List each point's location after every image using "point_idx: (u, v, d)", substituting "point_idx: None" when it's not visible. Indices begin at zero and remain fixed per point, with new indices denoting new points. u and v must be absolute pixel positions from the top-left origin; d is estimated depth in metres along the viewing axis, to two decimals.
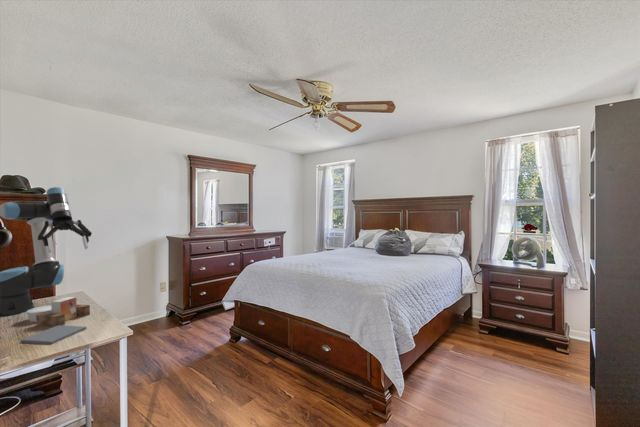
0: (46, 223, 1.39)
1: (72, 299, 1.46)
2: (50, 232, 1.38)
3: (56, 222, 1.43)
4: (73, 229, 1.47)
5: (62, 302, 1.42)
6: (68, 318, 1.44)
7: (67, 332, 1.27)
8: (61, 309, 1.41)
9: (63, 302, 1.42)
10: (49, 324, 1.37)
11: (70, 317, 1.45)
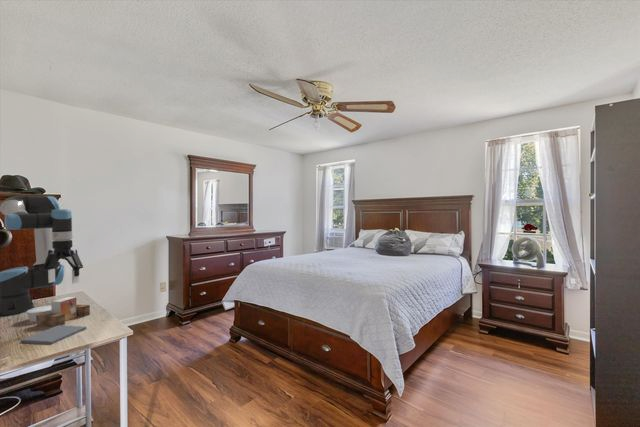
0: (49, 253, 1.44)
1: (72, 299, 1.46)
2: (50, 263, 1.44)
3: (55, 252, 1.44)
4: None
5: (62, 302, 1.42)
6: (68, 318, 1.44)
7: (67, 332, 1.27)
8: (61, 309, 1.41)
9: (63, 302, 1.42)
10: (49, 324, 1.37)
11: (70, 317, 1.45)
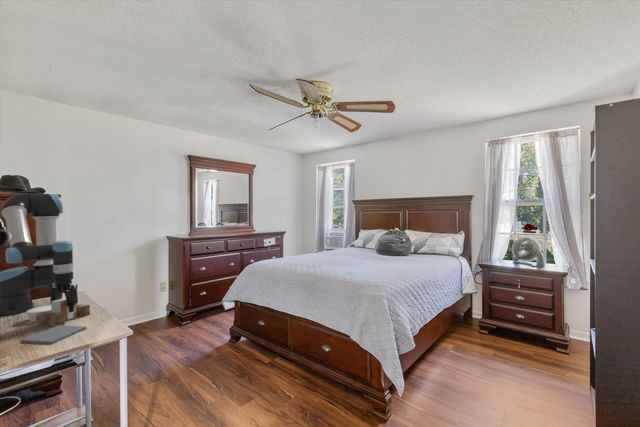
0: (50, 287, 1.44)
1: None
2: (55, 298, 1.44)
3: (56, 284, 1.44)
4: None
5: (62, 302, 1.42)
6: None
7: (67, 332, 1.27)
8: (60, 309, 1.41)
9: (63, 302, 1.42)
10: (49, 324, 1.37)
11: None
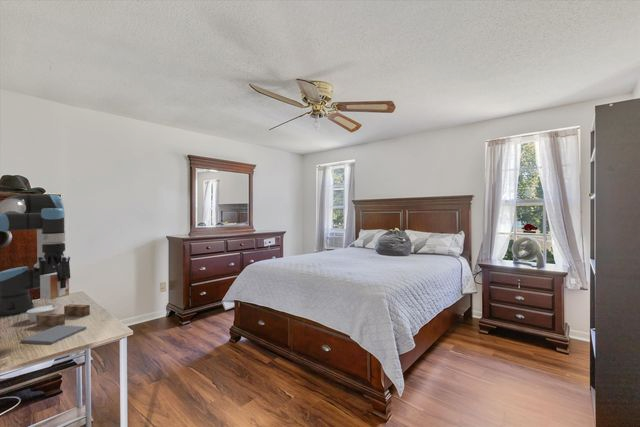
0: (39, 260, 1.27)
1: None
2: (45, 272, 1.27)
3: (46, 256, 1.27)
4: None
5: (52, 276, 1.25)
6: None
7: (67, 332, 1.27)
8: (50, 284, 1.24)
9: (53, 276, 1.25)
10: (49, 324, 1.37)
11: None
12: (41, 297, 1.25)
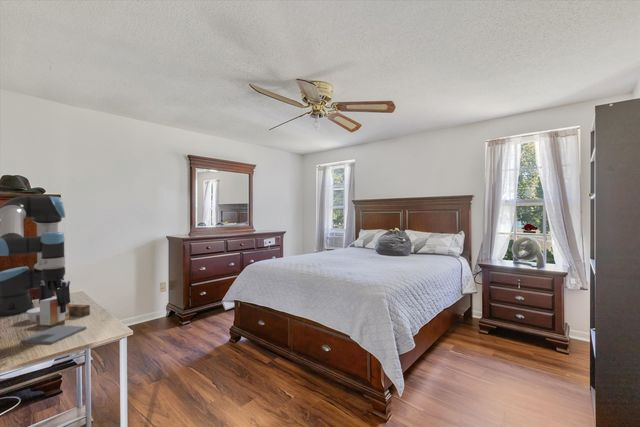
0: (39, 285, 1.27)
1: None
2: (45, 297, 1.26)
3: (45, 280, 1.26)
4: None
5: (52, 301, 1.24)
6: None
7: (67, 332, 1.27)
8: (50, 309, 1.23)
9: (53, 301, 1.24)
10: None
11: None
12: (41, 322, 1.24)
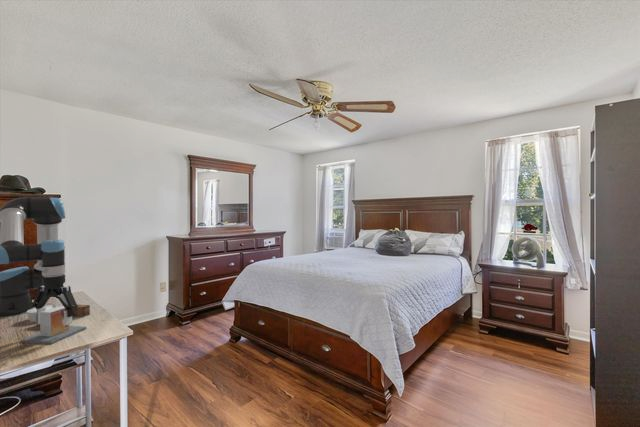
0: (38, 290, 1.27)
1: (64, 309, 1.29)
2: (40, 302, 1.27)
3: (46, 289, 1.26)
4: None
5: (53, 313, 1.24)
6: (60, 331, 1.27)
7: (67, 332, 1.27)
8: (51, 321, 1.23)
9: (54, 313, 1.24)
10: None
11: (62, 329, 1.28)
12: (41, 334, 1.24)
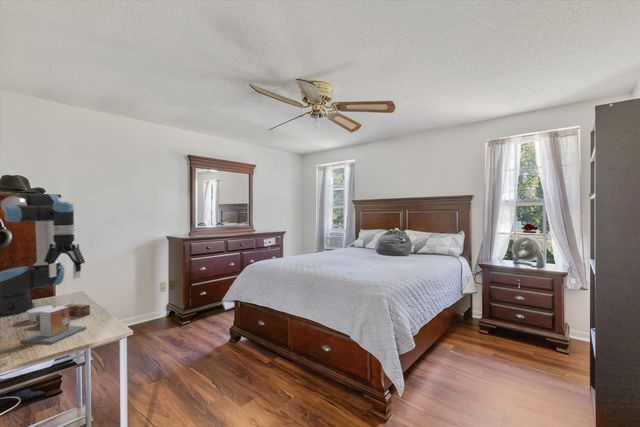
0: (50, 246, 1.40)
1: (64, 309, 1.29)
2: (51, 257, 1.40)
3: (56, 246, 1.39)
4: None
5: (53, 313, 1.24)
6: (60, 331, 1.27)
7: (67, 332, 1.27)
8: (51, 321, 1.23)
9: (54, 313, 1.24)
10: None
11: (62, 329, 1.28)
12: (41, 334, 1.24)
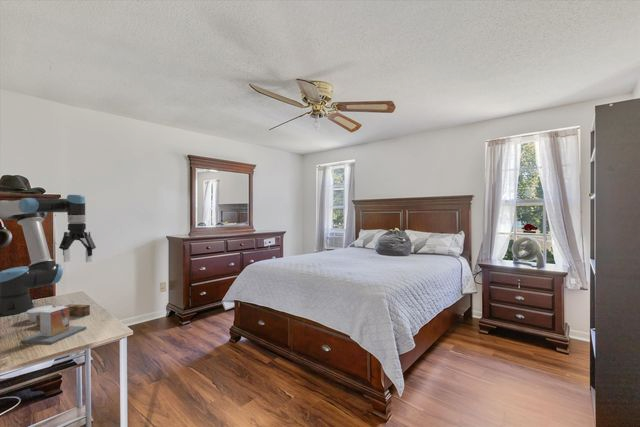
0: (64, 234, 1.58)
1: (64, 309, 1.29)
2: (66, 244, 1.58)
3: (70, 233, 1.57)
4: None
5: (53, 313, 1.24)
6: (60, 331, 1.27)
7: (67, 332, 1.27)
8: (51, 321, 1.23)
9: (54, 313, 1.24)
10: None
11: (62, 329, 1.28)
12: (41, 334, 1.24)
